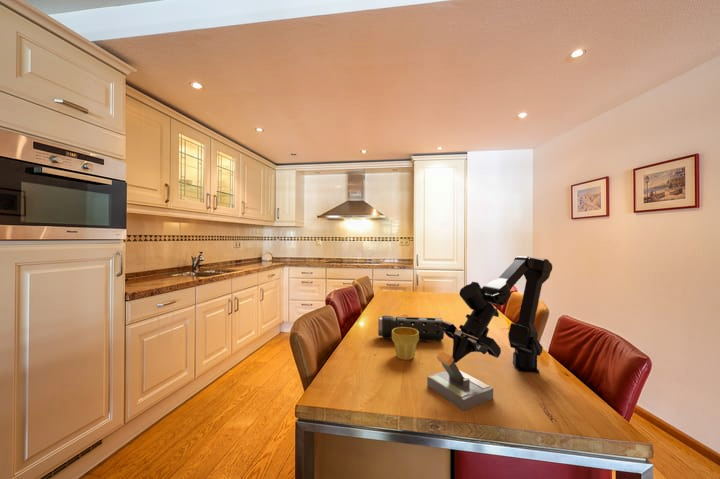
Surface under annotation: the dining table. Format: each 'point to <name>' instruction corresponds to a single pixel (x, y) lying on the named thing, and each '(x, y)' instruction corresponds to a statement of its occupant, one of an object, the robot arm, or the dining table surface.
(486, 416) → the dining table surface
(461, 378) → the handle
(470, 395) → the switch base
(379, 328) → the muzzle brake
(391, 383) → the dining table surface
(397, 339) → the plant pot
